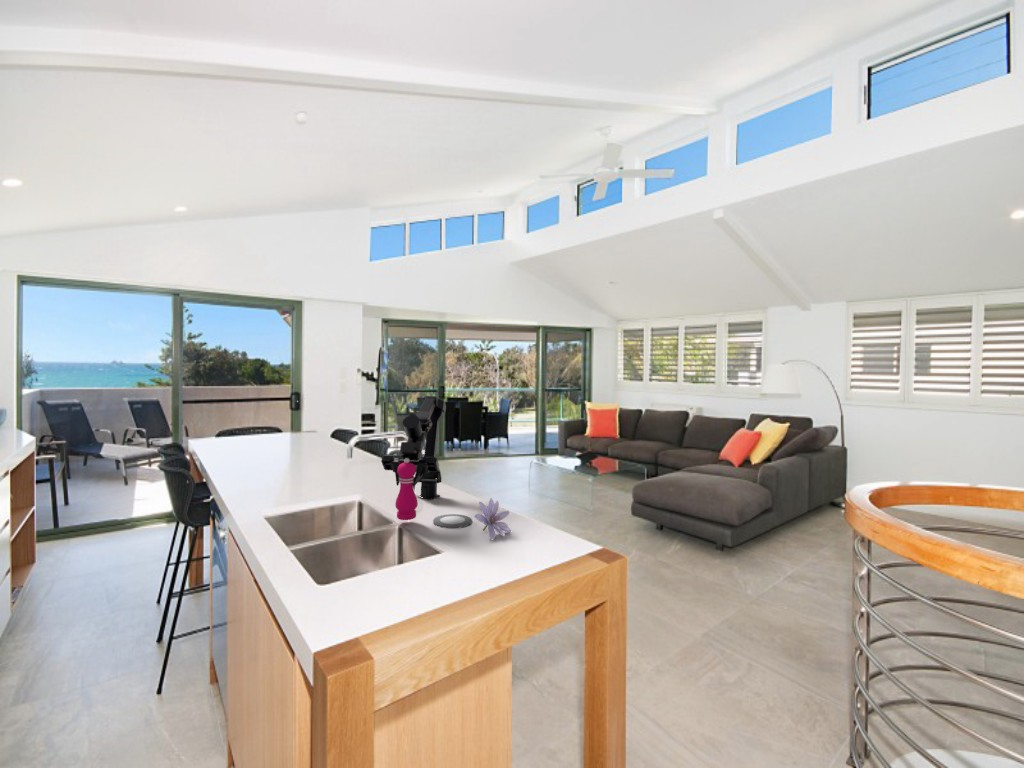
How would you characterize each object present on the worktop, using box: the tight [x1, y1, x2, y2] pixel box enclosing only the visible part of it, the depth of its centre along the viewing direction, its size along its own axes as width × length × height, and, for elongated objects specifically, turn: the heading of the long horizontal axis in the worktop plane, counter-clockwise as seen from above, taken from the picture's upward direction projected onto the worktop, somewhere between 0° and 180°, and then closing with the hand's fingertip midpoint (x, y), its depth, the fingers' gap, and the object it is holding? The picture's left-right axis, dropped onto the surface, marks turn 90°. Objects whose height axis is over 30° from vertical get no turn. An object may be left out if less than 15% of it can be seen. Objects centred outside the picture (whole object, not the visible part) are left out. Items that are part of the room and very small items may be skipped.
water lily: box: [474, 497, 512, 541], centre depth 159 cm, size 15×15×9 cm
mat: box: [432, 513, 473, 529], centre depth 169 cm, size 13×13×1 cm
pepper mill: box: [395, 458, 418, 521], centre depth 165 cm, size 7×7×20 cm
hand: (405, 485), depth 164 cm, fingers closed on pepper mill, 5 cm apart
